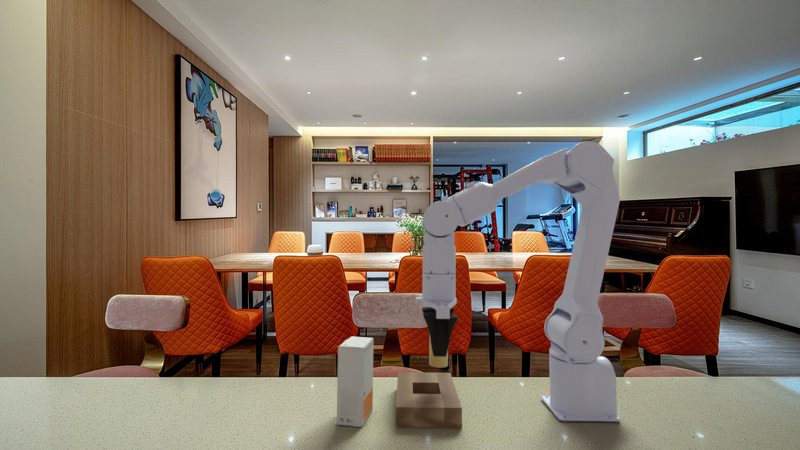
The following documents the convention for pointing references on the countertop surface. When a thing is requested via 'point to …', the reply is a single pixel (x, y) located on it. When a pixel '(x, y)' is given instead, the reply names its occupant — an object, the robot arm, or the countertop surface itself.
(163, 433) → the countertop surface
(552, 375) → the robot arm
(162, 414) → the countertop surface
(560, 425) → the countertop surface
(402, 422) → the socket block
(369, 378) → the skincare box
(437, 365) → the peg
